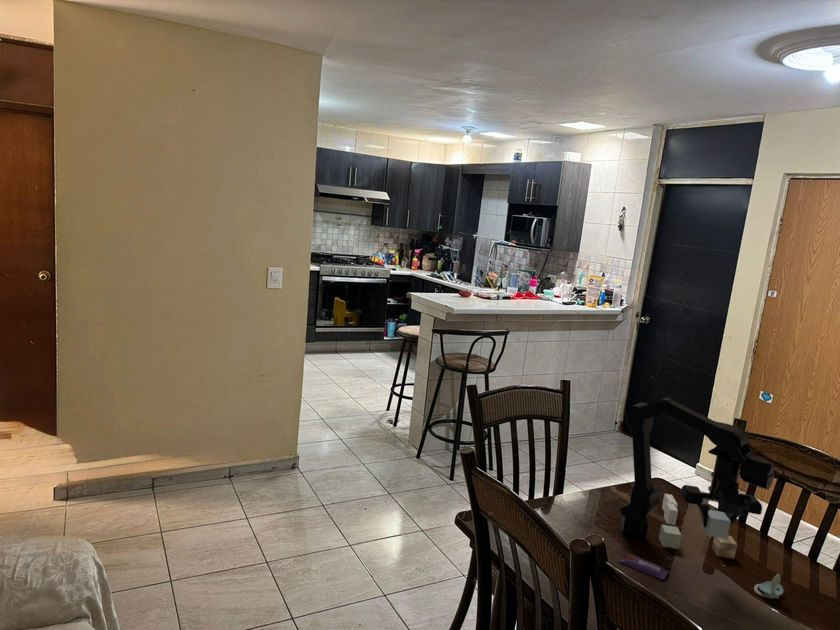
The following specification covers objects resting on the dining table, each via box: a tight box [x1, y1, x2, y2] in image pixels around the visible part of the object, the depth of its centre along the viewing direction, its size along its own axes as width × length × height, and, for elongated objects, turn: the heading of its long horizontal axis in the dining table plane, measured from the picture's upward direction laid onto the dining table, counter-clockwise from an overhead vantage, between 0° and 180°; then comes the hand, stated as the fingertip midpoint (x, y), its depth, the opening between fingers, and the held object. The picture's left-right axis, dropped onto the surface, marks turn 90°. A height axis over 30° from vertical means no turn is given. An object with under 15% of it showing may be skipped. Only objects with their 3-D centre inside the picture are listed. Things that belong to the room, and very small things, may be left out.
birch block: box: [711, 535, 738, 560], centre depth 165 cm, size 4×4×4 cm
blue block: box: [701, 509, 731, 539], centre depth 154 cm, size 5×5×5 cm
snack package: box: [619, 553, 669, 581], centre depth 154 cm, size 12×2×5 cm
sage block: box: [658, 524, 682, 550], centre depth 168 cm, size 4×4×4 cm
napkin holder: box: [661, 493, 679, 526], centre depth 184 cm, size 15×11×6 cm
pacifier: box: [753, 573, 784, 599], centre depth 148 cm, size 7×6×6 cm
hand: (714, 528), depth 154 cm, fingers closed on blue block, 5 cm apart
